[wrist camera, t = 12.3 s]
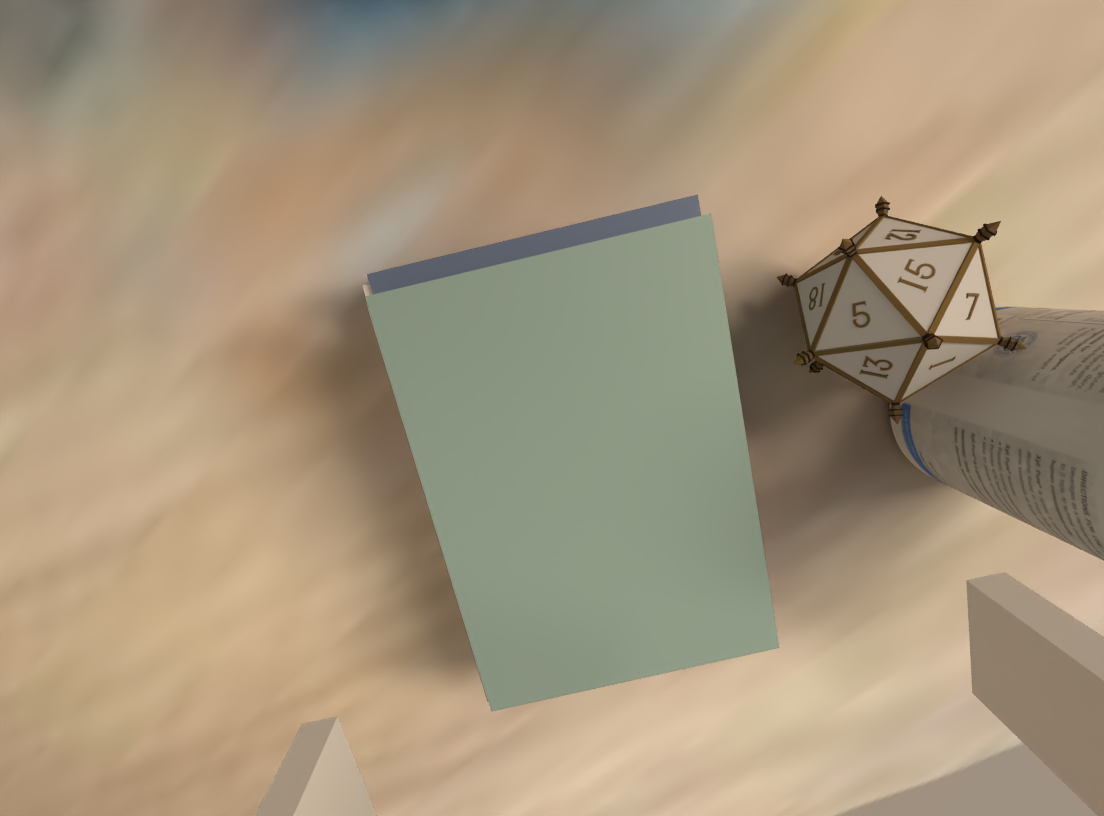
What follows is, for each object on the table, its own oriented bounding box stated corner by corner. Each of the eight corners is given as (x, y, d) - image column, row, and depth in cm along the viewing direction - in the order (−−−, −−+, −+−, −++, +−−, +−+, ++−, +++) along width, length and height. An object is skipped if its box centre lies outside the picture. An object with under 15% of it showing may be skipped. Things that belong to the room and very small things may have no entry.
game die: (953, 467, 25) (744, 385, 30) (1031, 307, 26) (814, 251, 31) (1020, 410, 18) (723, 311, 22) (1129, 183, 18) (819, 134, 23)
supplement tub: (1024, 485, 32) (1430, 658, 17) (861, 469, 31) (1141, 635, 17) (1078, 311, 29) (1595, 345, 15) (904, 292, 29) (1268, 308, 15)
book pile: (376, 276, 28) (334, 276, 22) (680, 203, 28) (719, 183, 22) (488, 651, 33) (478, 732, 27) (746, 593, 33) (792, 663, 27)
